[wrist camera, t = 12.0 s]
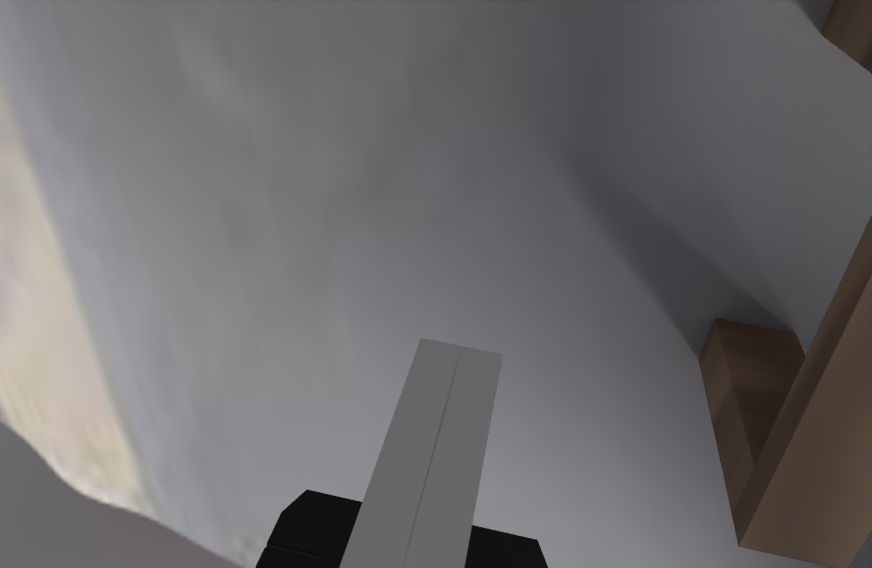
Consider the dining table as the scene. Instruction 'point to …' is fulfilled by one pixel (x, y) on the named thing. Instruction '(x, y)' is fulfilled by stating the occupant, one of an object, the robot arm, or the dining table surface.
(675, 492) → the dining table surface
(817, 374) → the bridge
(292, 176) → the dining table surface
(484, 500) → the dining table surface
